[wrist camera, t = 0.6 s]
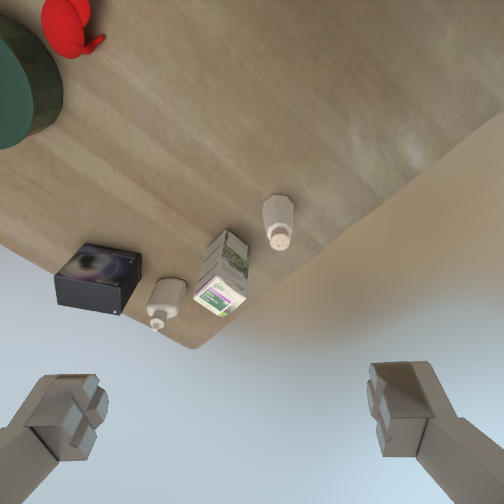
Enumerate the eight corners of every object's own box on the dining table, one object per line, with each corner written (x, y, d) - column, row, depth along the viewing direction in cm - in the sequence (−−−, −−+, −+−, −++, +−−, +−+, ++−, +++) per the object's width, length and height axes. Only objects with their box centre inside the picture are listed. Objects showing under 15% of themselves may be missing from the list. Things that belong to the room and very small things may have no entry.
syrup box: (206, 247, 60) (190, 300, 48) (227, 226, 57) (216, 277, 45) (230, 265, 62) (221, 321, 50) (251, 246, 59) (247, 299, 47)
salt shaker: (266, 226, 57) (266, 262, 48) (257, 198, 54) (255, 230, 45) (297, 219, 56) (303, 254, 47) (290, 189, 53) (295, 221, 44)
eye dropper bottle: (162, 270, 63) (142, 314, 53) (190, 282, 64) (175, 328, 54) (154, 286, 65) (134, 331, 55) (181, 297, 66) (165, 343, 56)
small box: (142, 251, 61) (121, 287, 52) (141, 279, 64) (121, 317, 56) (83, 241, 60) (51, 275, 51) (86, 269, 64) (56, 306, 55)
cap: (94, 70, 45) (72, 74, 40) (50, 39, 44) (22, 39, 38) (117, 11, 42) (96, 7, 36) (71, -25, 40) (42, -34, 35)
